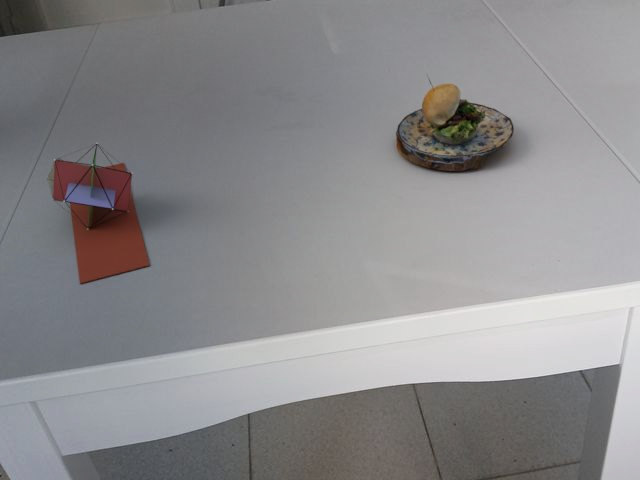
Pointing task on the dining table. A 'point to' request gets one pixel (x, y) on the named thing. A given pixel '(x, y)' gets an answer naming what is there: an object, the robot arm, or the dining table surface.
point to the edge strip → (107, 240)
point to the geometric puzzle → (90, 185)
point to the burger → (451, 131)
